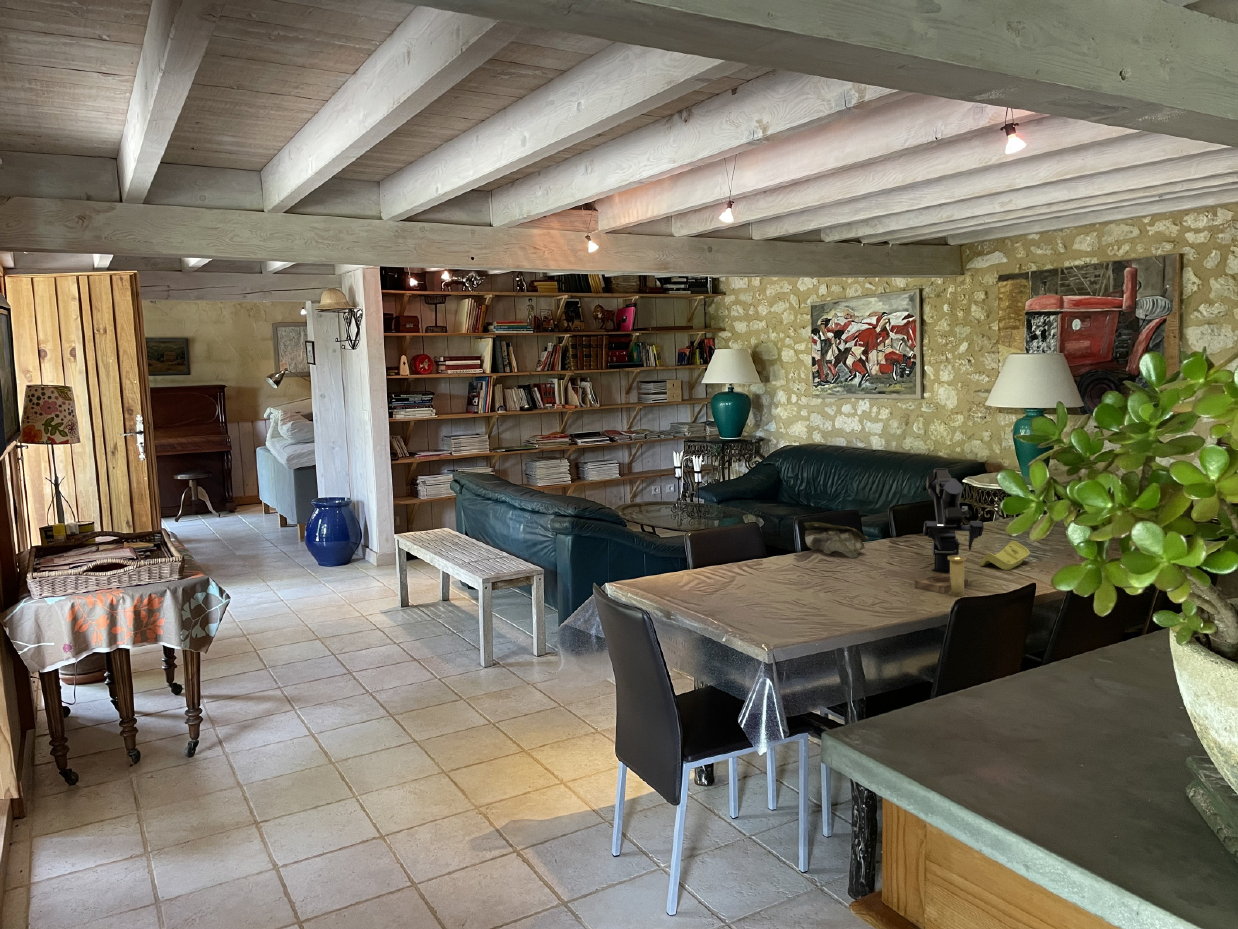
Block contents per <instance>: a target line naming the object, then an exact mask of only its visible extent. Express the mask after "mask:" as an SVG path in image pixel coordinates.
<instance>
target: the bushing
mask: <svg viewBox="0 0 1238 929" xmlns="http://www.w3.org/2000/svg"><path fill="white" fill-rule="evenodd" d="M967 558H968V557H967V556H965V555H962V554H961V555H960V554H958V555H950V556H948V560H950V572H949V576H950V592H949V595H950V596H951V597H952V596H953V597H963V596H965V587H964V579H965V562H966V561H967Z"/></svg>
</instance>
